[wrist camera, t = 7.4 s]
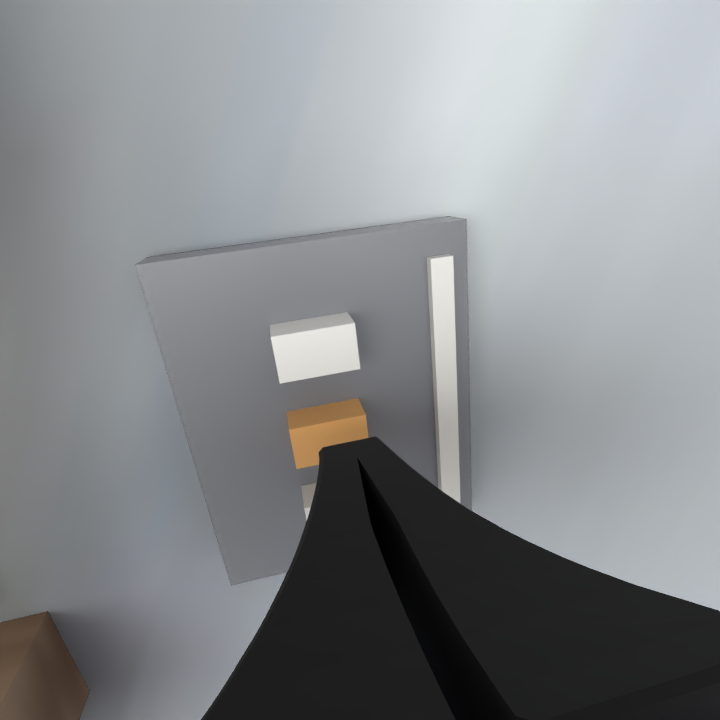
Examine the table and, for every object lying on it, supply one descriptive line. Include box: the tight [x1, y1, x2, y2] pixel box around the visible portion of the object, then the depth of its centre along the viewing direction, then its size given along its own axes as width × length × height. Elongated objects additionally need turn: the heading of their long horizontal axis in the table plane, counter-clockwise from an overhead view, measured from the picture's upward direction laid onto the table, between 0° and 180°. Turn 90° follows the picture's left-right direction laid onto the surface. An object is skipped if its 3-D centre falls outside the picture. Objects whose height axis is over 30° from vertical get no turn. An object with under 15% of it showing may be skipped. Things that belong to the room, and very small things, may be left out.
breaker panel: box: [135, 216, 472, 585], centre depth 13 cm, size 10×8×2 cm
